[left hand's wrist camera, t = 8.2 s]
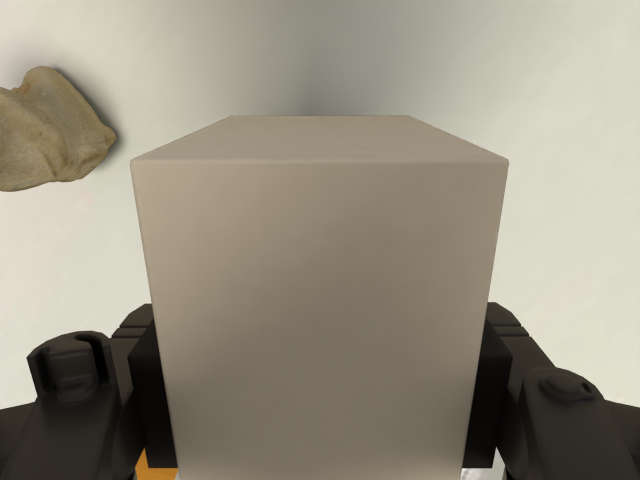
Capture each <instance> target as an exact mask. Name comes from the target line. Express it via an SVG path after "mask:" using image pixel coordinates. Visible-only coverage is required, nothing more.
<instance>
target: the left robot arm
mask: <svg viewBox="0 0 640 480" xmlns="http://www.w3.org/2000/svg"><path fill="white" fill-rule="evenodd" d="M27 361H28V365H29V368H30V372H31V375H32V378H33V382H34V385H35V389H36V392H37V398H36V400H35V402H32V403H29V404H24V405H20V406H15V407H10V408H5V409H1V410H0V480H138V479H137V473H136V468H135V467H136V465H137V462H138V460H139V458H140V456H141V454H142V452H143V450H144V448H145V453H146V459H147V464H148V468H178V465H177V458H176V452H175V446H174V440H173V433H172V427H171V421H170V414H169V408H168V402H167V395H166V389H165V383H164V377H163V370H162V364H161V358H160V351H159V345H158V339H157V333H156V326H155V320H154V314H153V307H152V304H144V305H142V306H141V307H139V308H138V309H136V310H134V311H133V312H131V313H130V314H129V315H128V316H127V317H126V318H125V320H124V321H123V322H122V323H121V325H120V327H119V328H117V330H116V331H115V332H114V333H113V335H112V338H108V337H107V336H106V335H104V334H103V333H100V332H95V331H77V332H72V333H68V334H64V335H60V336H58V337H55V338H53V339H50V340H48V341H46V342H44V343H43V344H41V345H40V346H38V347H36V348H35V349H34V350H33V351H32V352H31V353H30V354H29V355H28V356H27ZM496 447H497V449H498V451H499V453H500V455H501V457H502V459H503V462H504V464H505V468H504V473H503V478H502V480H640V408H639V407H635V406H630V405H625V404H620V403H615V402H611V401H608V400H604V398H603V395H602V394H601V393H600V392H599V390H598V389H597V388H596V386H595V385H593V384H592V383H591V382H589V381H588V380H586V379H585V378H584V377H582V376H580V375H578V374H575V373H573V372H571V371H569V370H565V369H561V368H557V367H555V366H554V364H553V363H552V362H551V361H550V359H549V358H548V357H547V356H546V354H545V353H544V352H543V351H542V350H541V348H540V347H539V346H538V345H537V343H536V342H535V341H534V340H533V338H532V337H529V333H528V332H527V331H526V330H525V328H524V327H521V324H520V322H519V321H518V320H517V319H516V317H515V316H514V315H513V314H512V312H510V311H508V310H507V309H505V308H504V307H502V306H501V305H499V304H497V303H496V302H487V309H486V315H485V322H484V328H483V335H482V341H481V348H480V354H479V361H478V367H477V374H476V380H475V387H474V393H473V400H472V406H471V413H470V419H469V425H468V432H467V438H466V445H465V451H464V458H463V464H462V468H492V466H493V460H494V455H495V450H496Z"/></svg>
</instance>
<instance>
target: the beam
mask: <svg viewBox="0 0 640 480" xmlns="http://www.w3.org/2000/svg"><path fill="white" fill-rule="evenodd" d="M508 166H509V162H508V159H506V158H504V157H501V156H499V155H497V154H495V153H492V152H490V151H488V150H486V149H483V148H481V147H479V146H476V145H474V144H472V143H470V142H467V141H465V140H463V139H460V138H458V137H456V136H454V135H451V134H449V133H447V132H444V131H442V130H440V129H438V128H435V127H433V126H431V125H429V124H426V123H424V122H422V121H419V120H417V119H415V118H413V117H410V116H230V117H228V118H226V119H223V120H221V121H219V122H216V123H214V124H212V125H210V126H207V127H205V128H203V129H200V130H198V131H196V132H193V133H191V134H189V135H187V136H184V137H182V138H180V139H177V140H175V141H173V142H171V143H168V144H166V145H164V146H161V147H159V148H157V149H154V150H152V151H150V152H148V153H145V154H143V155H141V156H138V157H136V158H134V159H132V160H131V161H130V169H131V175H132V181H133V188H134V194H135V200H136V207H137V213H138V219H139V225H140V232H141V238H142V244H143V251H144V257H145V263H146V270H147V276H148V282H149V288H150V295H151V301H152V307H153V314H154V320H155V326H156V333H157V339H158V345H159V351H160V358H161V364H162V370H163V377H164V383H165V389H166V395H167V402H168V408H169V414H170V421H171V427H172V433H173V440H174V446H175V452H176V458H177V465H178V471H179V477H180V480H460V477H461V471H462V464H463V458H464V451H465V445H466V438H467V432H468V425H469V419H470V413H471V406H472V400H473V393H474V387H475V380H476V374H477V367H478V361H479V354H480V348H481V341H482V335H483V328H484V322H485V315H486V309H487V302H488V296H489V289H490V283H491V276H492V270H493V263H494V257H495V250H496V244H497V237H498V231H499V224H500V218H501V211H502V205H503V198H504V192H505V185H506V179H507V173H508Z"/></svg>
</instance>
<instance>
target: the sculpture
mask: <svg viewBox="0 0 640 480" xmlns="http://www.w3.org/2000/svg"><path fill="white" fill-rule="evenodd" d="M115 140H116V134H115V133H114V132H113V130H112V129H111V128H109V127H108V126H105V125H104V124H103V123H102V122H101V121H100V120H99V118H98V116H97V115H96V113H95V112H94V110H93V109H92V107H91V106H90V105H89V104H88V102H87V101H86V100H85V99H84V98H83V96H82V95H81V94H80V93H79V92H78V91H77V90H76V89H75V88H74V87H73V85H72V84H71V83H70V82H69V81H68V80H66V79H65V78H64V77H63V76H62V75H61V74H59V73H58V72H56V71H55V70H53V69H51V68H49V67H45V66H39V67H36V68H33V69H31V70H30V71H29V72H27V73H26V75H25V77H24V81H23V83H22V85H21V86H20V88H13V89H12V90H11V91H10V90H7V89H5V88H2V87H0V191H6V192H13V191H20V190H26V189H29V188H33V187H37V186H39V185H42V184H45V183H48V182H57V181H58V182H71V181H75V180H77V179H82V178H84V177H85V176H86V175H88V174H89V173H90V172H91V171H92V170H94V169H95V168H96V167H97V166H98V165H99V164H100V163H101V162H102V160H103V159H104V158H105V157H106V155H107V153H108V150H109V149H108V148H109V147H110V146H111V145H112V144H113V143H114V141H115Z"/></svg>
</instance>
